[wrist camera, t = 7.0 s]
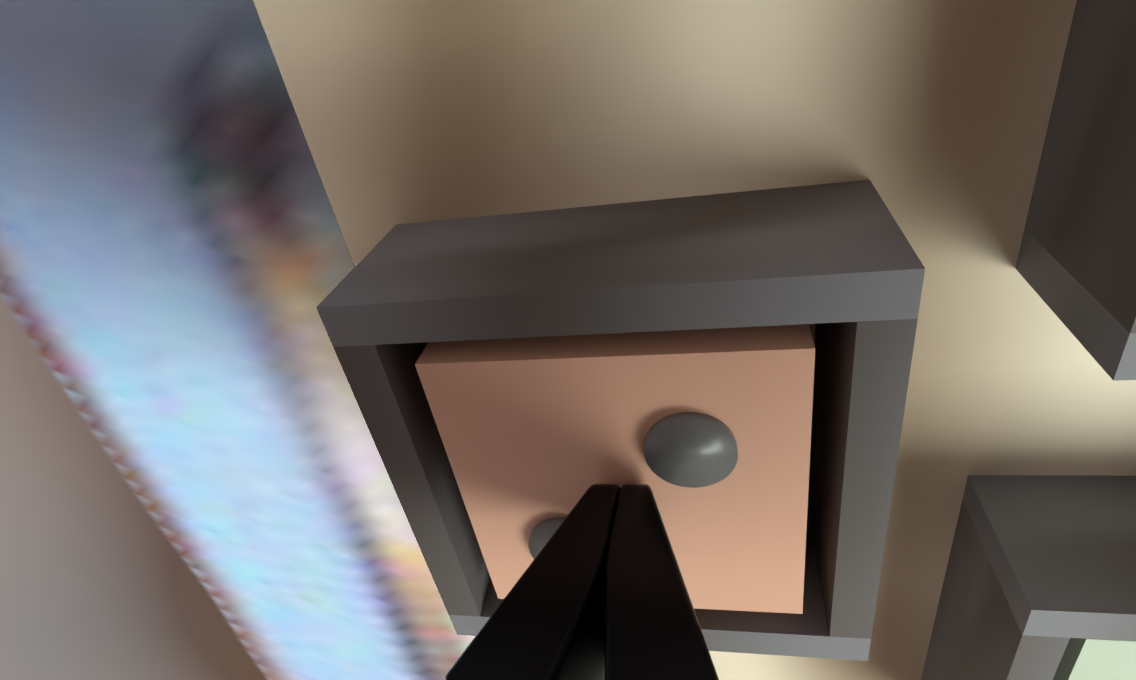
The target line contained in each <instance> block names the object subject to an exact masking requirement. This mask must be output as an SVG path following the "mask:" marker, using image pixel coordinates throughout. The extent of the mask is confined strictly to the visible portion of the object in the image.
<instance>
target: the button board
mask: <svg viewBox="0 0 1136 680" xmlns="http://www.w3.org/2000/svg"><path fill="white" fill-rule="evenodd" d="M253 2H254V4H255V7H256V10H257V12H258V15H259V17H260V20H261V23H262V25H263V28H264V31H265V33H266V36H267V39H268V41H269V44H270V46H271V49H272V52H273V54H274V57H275V60H276V62H277V65H278V67H279V70H280V73H281V75H282V78H283V81H284V83H285V86H286V89H287V91H288V94H289V96H290V99H291V102H292V104H293V107H294V110H295V112H296V115H297V117H298V120H299V123H300V125H301V128H302V131H303V133H304V136H305V139H306V141H307V144H308V146H309V149H310V152H311V154H312V157H313V160H314V162H315V165H316V167H317V170H318V173H319V175H320V178H321V181H322V183H323V186H324V189H325V191H326V194H327V196H328V199H329V202H330V204H331V207H332V210H333V212H334V215H335V218H336V220H337V223H338V225H339V228H340V231H341V233H342V236H343V239H344V241H345V244H346V246H347V249H348V252H349V254H350V257H351V260H352V262H353V265H354V269H353V270H352V271H351V272H350V273H349V274H348V275H347V276H346V277H345V278H344V279H343V280H342V281H341V283H340V284H339V285H338V286H337V287H336V288H335V289H334V290H333V291H332V292H331V293H330V294H329V295H328V296H327V297H326V298H325V299H324V300H323V301H322V302H321V303H320V304H319V306H318V307H317V310H318V312H319V315H320V317H321V319H322V321H323V324H324V326H325V328H326V331H327V333H328V335H329V338H330V340H331V342H332V345H333V347H334V349H335V352H336V354H337V356H338V359H339V361H340V363H341V366H342V368H343V370H344V373H345V375H346V377H347V379H348V382H349V384H350V386H351V389H352V391H353V393H354V396H355V398H356V400H357V403H358V405H359V407H360V410H361V412H362V414H363V417H364V419H365V421H366V424H367V426H368V428H369V431H370V433H371V435H372V438H373V440H374V442H375V444H376V447H377V449H378V451H379V454H380V456H381V458H382V461H383V463H384V465H385V468H386V470H387V472H388V475H389V477H390V479H391V482H392V484H393V486H394V489H395V491H396V493H397V496H398V498H399V500H400V503H401V505H402V507H403V509H404V512H405V514H406V516H407V519H408V521H409V523H410V526H411V528H412V530H413V533H414V535H415V537H416V540H417V542H418V544H419V547H420V549H421V551H422V554H423V556H424V558H425V561H426V563H427V565H428V568H429V570H430V572H431V574H432V577H433V579H434V581H435V584H436V586H437V588H438V591H439V593H440V595H441V598H442V600H443V602H444V605H445V607H446V609H447V612H448V614H449V616H450V619H451V621H452V623H453V626H454V628H455V630H456V633H457V635H472V636H476V635H477V634H478V633H479V631H480V630H481V629H482V627H483V626H484V625H485V623H486V622H487V621H488V619H489V618H490V617H491V616H492V614H493V613H494V612H495V610H496V609H497V608H498V606H499V605H500V604H501V602H502V601H503V600H504V599H498V597H497V594H496V591H495V588H494V585H493V583H492V580H491V577H490V574H489V571H488V569H487V566H486V563H485V560H484V557H483V555H482V552H481V549H480V546H479V543H478V540H477V538H476V535H475V532H474V529H473V526H472V524H471V521H470V518H469V515H468V512H467V510H466V507H465V504H464V501H463V498H462V496H461V493H460V490H459V487H458V484H457V482H456V479H455V476H454V473H453V470H452V467H451V465H450V462H449V459H448V456H447V453H446V451H445V448H444V445H443V442H442V439H441V437H440V434H439V431H438V428H437V425H436V423H435V420H434V417H433V414H432V411H431V409H430V406H429V403H428V400H427V397H426V394H425V392H424V389H423V386H422V383H421V380H420V378H419V375H418V372H417V369H416V366H415V363H416V362H417V360H418V358H419V357H420V355H421V354H422V352H423V350H424V349H425V347H426V346H427V344H428V342H444V341H465V340H486V339H507V338H528V337H548V336H569V335H590V334H611V333H631V332H652V331H673V330H694V329H715V328H735V327H756V326H777V325H798V324H809V326H810V330H811V334H812V338H813V342H814V345H815V365H814V386H813V406H812V427H811V448H810V469H809V489H808V510H807V531H806V552H805V572H804V593H803V614H794V613H774V612H754V611H734V610H714V609H694V611H695V613H696V616H697V619H698V622H699V625H700V627H701V630H702V633H703V636H704V639H705V642H706V644H707V647H708V650H709V653H710V656H711V659H712V661H713V664H714V667H715V670H716V673H717V675H718V678H719V680H1053V678H1054V675H1055V673H1056V670H1057V668H1058V666H1059V663H1060V661H1061V659H1062V656H1063V654H1064V652H1065V649H1066V647H1067V645H1068V642H1069V640H1070V638H1083V639H1101V640H1120V641H1136V0H253Z"/></svg>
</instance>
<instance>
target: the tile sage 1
mask: <svg viewBox="0 0 1136 680" xmlns="http://www.w3.org/2000/svg"><path fill="white" fill-rule="evenodd" d="M1053 680H1136V641H1120V640H1101V639H1083V638H1070V640H1069V642H1068V645H1067V647H1066V649H1065V652H1064V654H1063V656H1062V659H1061V661H1060V663H1059V666H1058V668H1057V670H1056V673H1055V675H1054V678H1053Z"/></svg>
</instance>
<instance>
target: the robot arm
mask: <svg viewBox="0 0 1136 680" xmlns="http://www.w3.org/2000/svg"><path fill="white" fill-rule="evenodd" d="M446 680H719V678H718V675H717V673H716V670H715V667H714V664H713V661H712V659H711V656H710V653H709V650H708V647H707V644H706V642H705V639H704V636H703V633H702V630H701V627H700V625H699V622H698V619H697V616H696V613H695V611H694V608H693V605H692V602H691V599H690V596H689V594H688V591H687V588H686V585H685V582H684V580H683V577H682V574H681V571H680V568H679V565H678V563H677V560H676V557H675V554H674V551H673V549H672V546H671V543H670V540H669V537H668V534H667V532H666V529H665V526H664V523H663V520H662V517H661V515H660V512H659V509H658V506H657V503H656V501H655V498H654V495H653V492H652V489H651V487H650V486H649V485H647V484H624V485H622V487H621V488H620V486H619V485H617V484H593V485H591V486H590V487H589V488H588V489H587V491H586V492H585V493H584V494H583V496H582V497H581V498H580V500H579V501H578V502H577V504H576V505H575V506H574V508H573V509H572V510H571V512H570V513H569V514H568V516H567V517H566V518H565V519H564V521H563V522H562V523H561V525H560V526H559V527H558V529H557V530H556V531H555V533H554V534H553V535H552V537H551V538H550V539H549V541H548V542H547V543H546V544H545V546H544V547H543V548H542V550H541V551H540V552H539V554H538V555H537V556H536V558H535V559H534V560H533V562H532V563H531V564H530V566H529V567H528V568H527V569H526V571H525V572H524V573H523V575H522V576H521V577H520V579H519V580H518V581H517V583H516V584H515V585H514V587H513V588H512V589H511V591H510V592H509V593H508V594H507V596H506V597H505V598H504V600H503V601H502V602H501V604H500V605H499V606H498V608H497V609H496V610H495V612H494V613H493V614H492V616H491V617H490V618H489V619H488V621H487V622H486V623H485V625H484V626H483V627H482V629H481V630H480V631H479V633H478V634H477V635H476V637H475V638H474V639H473V641H472V642H471V643H470V644H469V646H468V647H467V648H466V650H465V651H464V652H463V654H462V655H461V656H460V658H459V659H458V660H457V662H456V663H455V664H454V666H453V667H452V668H451V669H450V671H449V672H448V673H447V675H446Z"/></svg>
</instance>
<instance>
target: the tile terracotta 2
mask: <svg viewBox="0 0 1136 680" xmlns="http://www.w3.org/2000/svg"><path fill="white" fill-rule="evenodd" d="M814 365H815V345H814V342H813V338H812V334H811V330H810V326H809V324H798V325H777V326H756V327H735V328H715V329H694V330H673V331H652V332H631V333H611V334H590V335H569V336H548V337H528V338H507V339H486V340H465V341H444V342H428V344H427V346H426V347H425V349H424V350H423V352H422V354H421V355H420V357H419V358H418V360H417V362H416V363H415V366H416V369H417V372H418V375H419V378H420V380H421V383H422V386H423V389H424V392H425V394H426V397H427V400H428V403H429V406H430V409H431V411H432V414H433V417H434V420H435V423H436V425H437V428H438V431H439V434H440V437H441V439H442V442H443V445H444V448H445V451H446V453H447V456H448V459H449V462H450V465H451V467H452V470H453V473H454V476H455V479H456V482H457V484H458V487H459V490H460V493H461V496H462V498H463V501H464V504H465V507H466V510H467V512H468V515H469V518H470V521H471V524H472V526H473V529H474V532H475V535H476V538H477V540H478V543H479V546H480V549H481V552H482V555H483V557H484V560H485V563H486V566H487V569H488V571H489V574H490V577H491V580H492V583H493V585H494V588H495V591H496V594H497V597H498V599H504V598H505V597H506V596H507V594H508V593H509V592H510V591H511V589H512V588H513V587H514V585H515V584H516V583H517V581H518V580H519V579H520V577H521V576H522V575H523V573H524V572H525V571H526V569H527V568H528V567H529V566H530V564H531V563H532V562H533V560H534V559H535V558H536V556H537V555H538V554H539V552H540V551H541V550H542V548H543V547H544V546H545V544H546V543H547V542H548V541H549V539H550V538H551V537H552V535H553V534H554V533H555V531H556V530H557V529H558V527H559V526H560V525H561V523H562V522H563V521H564V519H565V518H566V517H567V516H568V514H569V513H570V512H571V510H572V509H573V508H574V506H575V505H576V504H577V502H578V501H579V500H580V498H581V497H582V496H583V494H584V493H585V492H586V491H587V489H588V488H589V487H590V486H591V485H593V484H617V485H619V486H620V488H621V487H622V485H624V484H647V485H649V486H650V487H651V489H652V492H653V495H654V498H655V501H656V503H657V506H658V509H659V512H660V515H661V517H662V520H663V523H664V526H665V529H666V532H667V534H668V537H669V540H670V543H671V546H672V549H673V551H674V554H675V557H676V560H677V563H678V565H679V568H680V571H681V574H682V577H683V580H684V582H685V585H686V588H687V591H688V594H689V596H690V599H691V602H692V605H693V608H694V609H714V610H734V611H754V612H774V613H794V614H803V593H804V572H805V552H806V531H807V510H808V489H809V469H810V448H811V427H812V406H813V386H814Z"/></svg>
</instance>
